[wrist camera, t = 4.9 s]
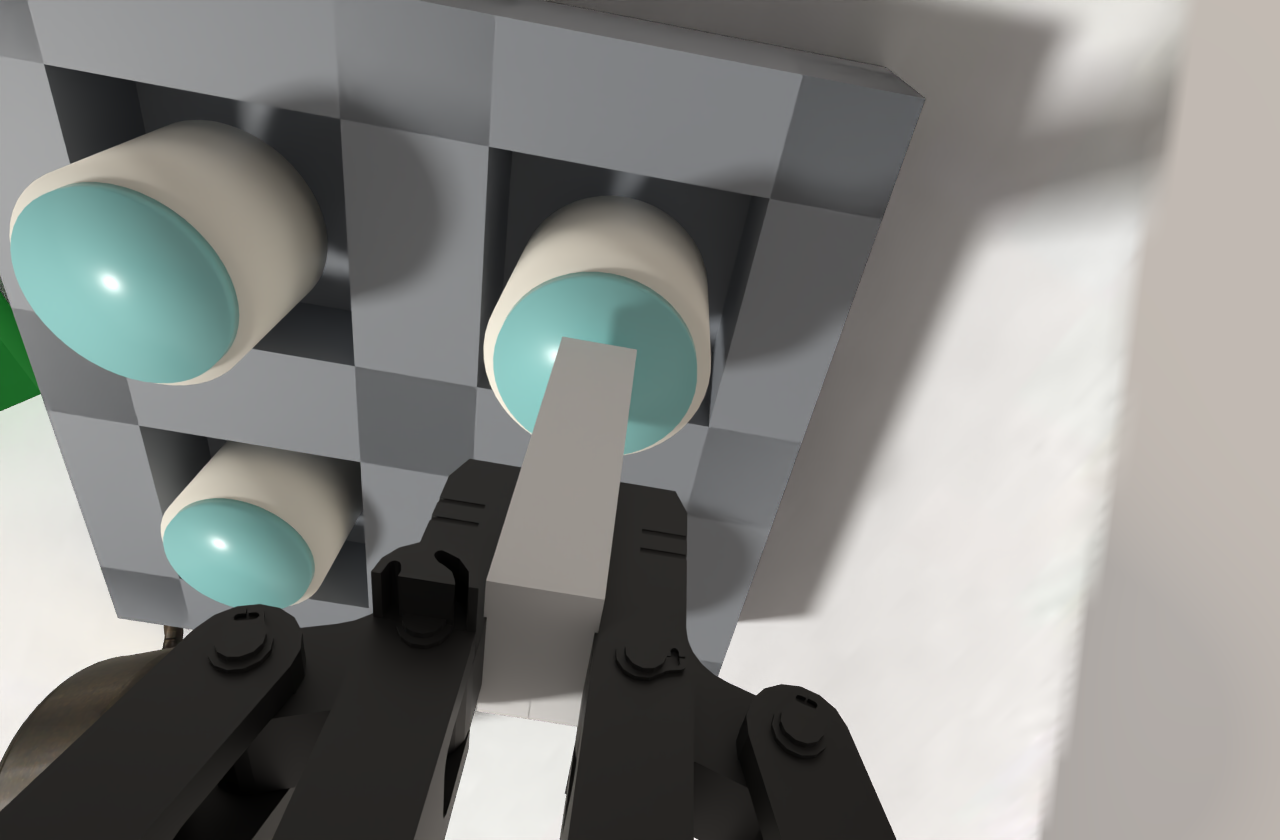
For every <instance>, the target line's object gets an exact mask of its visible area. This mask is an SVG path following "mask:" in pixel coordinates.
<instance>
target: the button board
mask: <svg viewBox="0 0 1280 840" xmlns="http://www.w3.org/2000/svg"><path fill="white" fill-rule="evenodd" d="M924 101H925V98H924V97H923V96H922V95H920V94H919V93H918V92H917V91H915V90H914V89H913V88H911V87H910V86H909V85H908V84H906V83H905V82H904V81H903V80H901V79H900V78H899V77H897V76H896V75H895V74H894V73H892V72H891V71H890V70H889V69H887V68H886V67H882V66H877V65H872V64H867V63H862V62H856V61H851V60H846V59H841V58H836V57H831V56H826V55H821V54H815V53H810V52H805V51H800V50H795V49H790V48H785V47H780V46H774V45H769V44H764V43H759V42H754V41H749V40H744V39H738V38H733V37H728V36H723V35H718V34H713V33H708V32H703V31H697V30H692V29H687V28H682V27H677V26H672V25H667V24H662V23H656V22H651V21H646V20H641V19H636V18H631V17H626V16H621V15H615V14H610V13H605V12H600V11H595V10H590V9H585V8H580V7H574V6H569V5H564V4H559V3H554V2H549V1H544V0H0V276H1V279H2V282H3V285H4V288H5V291H6V294H7V297H8V300H9V302H10V305H11V308H12V311H13V314H14V317H15V320H16V323H17V326H18V329H19V332H20V334H21V337H22V340H23V343H24V346H25V349H26V352H27V355H28V358H29V361H30V363H31V366H32V369H33V372H34V375H35V378H36V381H37V384H38V387H39V390H40V393H41V395H42V398H43V401H44V404H45V407H46V410H47V413H48V416H49V419H50V422H51V425H52V427H53V430H54V433H55V436H56V439H57V442H58V445H59V448H60V451H61V454H62V457H63V459H64V462H65V465H66V468H67V471H68V474H69V477H70V480H71V483H72V486H73V489H74V491H75V494H76V497H77V500H78V503H79V506H80V509H81V512H82V515H83V518H84V520H85V523H86V526H87V529H88V532H89V535H90V538H91V541H92V544H93V547H94V550H95V552H96V555H97V558H98V561H99V564H100V567H101V570H102V573H103V576H104V579H105V582H106V584H107V587H108V590H109V593H110V596H111V599H112V602H113V605H114V608H115V611H116V614H117V616H118V618H121V619H128V620H134V621H141V622H147V623H154V624H160V625H167V626H173V627H180V628H186V629H193V630H194V629H195V628H196V627H197V626H199V625H200V624H202V623H203V622H205V621H206V620H207V619H209V618H210V617H212V616H213V615H215V614H218V613H220V612H223V611H226V610H228V609H231V608H234V607H231V606H228V605H225V604H223V603H220V602H217V601H215V600H213V599H211V598H209V597H207V596H205V595H203V594H202V593H200V592H199V591H197V590H196V589H194V588H193V587H192V586H190V585H189V584H188V583H187V582H185V581H184V580H183V579H182V578H181V577H180V576H179V575H178V573H177V572H176V571H175V570H174V568H173V567H172V566H171V564H170V562H169V560H168V559H167V556H166V554H165V551H164V546H163V541H162V537H161V522H162V517H163V515H164V513H165V511H166V510H167V509H168V507H169V506H170V505H171V504H172V503H173V501H174V500H175V499H176V498H177V497H178V496H179V495H180V494H181V492H182V491H183V490H184V489H185V488H186V487H187V486H188V484H189V483H190V482H191V481H192V480H193V479H194V478H195V477H196V475H197V474H198V473H199V472H200V471H201V470H202V469H203V467H204V466H205V465H206V464H207V463H208V462H209V461H210V460H211V458H212V457H213V456H214V455H215V454H216V453H217V452H218V451H219V449H220V448H221V447H222V446H223V445H224V444H225V443H226V441H227V440H229V441H236V442H242V443H248V444H254V445H260V446H266V447H272V448H278V449H284V450H290V451H296V452H302V453H308V454H314V455H320V456H326V457H332V458H339V459H345V460H351V461H357V462H360V464H361V481H362V498H363V510H362V512H361V513H360V515H359V517H358V519H357V521H356V522H355V524H354V526H353V528H352V530H351V531H350V533H349V535H348V537H347V539H346V540H345V542H344V544H343V546H342V548H341V550H340V551H339V553H338V555H337V557H336V559H335V560H334V562H333V564H332V566H331V568H330V569H329V571H328V573H327V575H326V577H325V578H324V580H323V582H322V584H321V586H320V587H319V589H318V590H317V591H316V592H315V593H314V594H313V595H312V596H311V597H310V598H308V599H307V600H305V601H303V602H301V603H298V604H295V605H292V606H288V607H285V608H282V609H283V610H284V611H286V612H287V613H289V614H290V615H292V616H293V617H295V619H296V621H297V623H298V625H299V627H300V628H303V627H312V626H321V625H330V624H338V623H343V622H348V621H353V620H357V619H359V618H362V617H365V616H367V615H370V614H372V613H373V604H372V585H371V571H372V569H373V568H374V567H375V566H376V564H377V563H378V562H379V561H380V559H381V558H382V557H384V556H385V555H387V554H389V553H390V552H392V551H394V550H395V549H397V548H399V547H402V546H406V545H410V544H414V543H418V542H420V541H421V539H422V536H423V534H424V532H425V529H426V527H427V525H428V523H429V520H431V517H432V513H433V511H434V509H435V507H436V504H437V502H439V498H440V495H441V493H442V491H443V488H444V486H445V484H446V481H447V479H448V477H449V475H450V474H452V473H453V472H454V471H455V470H456V469H458V468H459V467H460V466H461V465H463V464H464V463H465V462H466V461H467V460H469V459H475V460H481V461H487V462H493V463H499V464H505V465H511V466H517V467H522V464H523V461H524V458H525V455H526V451H527V448H528V445H529V442H530V438H531V434H530V433H529V432H527V431H526V430H525V429H523V428H522V427H521V426H520V425H519V424H518V423H517V422H516V421H514V420H513V419H512V418H511V417H510V415H509V414H508V413H507V412H506V411H505V409H504V408H503V407H502V405H501V404H500V402H499V401H498V399H497V398H496V396H495V394H494V392H493V390H492V388H491V385H490V383H489V380H488V377H487V373H486V369H485V363H484V339H485V332H486V329H487V325H488V322H489V319H490V317H491V315H492V313H493V311H494V309H495V307H496V305H497V303H498V301H499V299H500V297H501V295H502V293H503V291H504V289H505V287H506V285H507V283H508V281H509V279H510V277H511V275H512V273H513V271H514V269H515V267H516V265H517V263H518V261H519V259H520V257H521V255H522V253H523V251H524V249H525V247H526V245H527V243H528V241H529V239H530V238H531V236H532V235H533V233H534V232H535V230H536V229H537V228H538V227H539V226H540V224H541V223H542V222H543V221H544V220H545V219H547V218H548V217H549V216H550V215H551V214H553V213H554V212H556V211H557V210H559V209H561V208H562V207H564V206H566V205H568V204H571V203H573V202H575V201H578V200H582V199H585V198H590V197H597V196H621V197H628V198H632V199H636V200H640V201H643V202H645V203H648V204H650V205H653V206H655V207H656V208H658V209H660V210H662V211H664V212H665V213H667V214H668V215H669V216H671V217H672V218H673V219H675V220H676V221H677V222H678V223H679V224H680V225H681V226H682V227H683V228H684V229H685V230H686V232H687V233H688V234H689V235H690V237H691V238H692V239H693V241H694V243H695V244H696V246H697V248H698V249H699V252H700V254H701V256H702V259H703V262H704V265H705V269H706V274H707V282H708V303H709V326H710V350H711V373H710V378H709V384H708V387H707V390H706V393H705V396H704V399H703V400H702V402H701V404H700V406H699V408H698V410H697V411H696V413H695V414H694V415H693V417H692V418H691V419H690V420H689V421H688V423H687V424H686V425H685V426H684V427H683V428H682V429H681V430H679V431H678V432H677V433H676V434H674V435H673V436H672V437H670V438H669V439H667V440H665V441H664V442H662V443H660V444H658V445H656V446H654V447H652V448H649V449H646V450H643V451H640V452H637V453H633V454H628V455H623V462H622V470H621V478H620V482H624V483H630V484H636V485H642V486H648V487H654V488H660V489H666V490H672V491H676V493H677V495H678V497H679V499H680V500H681V502H682V504H683V506H684V508H685V510H686V512H687V540H686V541H687V557H686V560H687V610H686V629H687V637H688V641H689V644H690V646H691V648H692V651H693V653H694V654H695V655H696V657H697V658H698V659H699V661H700V662H701V663H702V665H704V666H705V667H706V668H707V669H708V670H709V671H710V672H712V673H713V674H714V675H716V676H717V677H718V675H719V672H720V669H721V666H722V663H723V661H724V658H725V655H726V652H727V650H728V647H729V644H730V641H731V638H732V636H733V633H734V630H735V627H736V625H737V622H738V619H739V616H740V613H741V611H742V608H743V605H744V602H745V599H746V597H747V594H748V591H749V588H750V586H751V583H752V580H753V577H754V574H755V572H756V569H757V566H758V563H759V561H760V558H761V555H762V552H763V549H764V547H765V544H766V541H767V538H768V535H769V533H770V530H771V527H772V524H773V522H774V519H775V516H776V513H777V510H778V508H779V505H780V502H781V499H782V497H783V494H784V491H785V488H786V485H787V483H788V480H789V477H790V474H791V471H792V469H793V466H794V463H795V460H796V458H797V455H798V452H799V449H800V446H801V444H802V441H803V438H804V435H805V433H806V430H807V427H808V424H809V421H810V419H811V416H812V413H813V410H814V407H815V405H816V402H817V399H818V396H819V394H820V391H821V388H822V385H823V382H824V380H825V377H826V374H827V371H828V369H829V366H830V363H831V360H832V357H833V355H834V352H835V349H836V346H837V343H838V341H839V338H840V335H841V332H842V330H843V327H844V324H845V321H846V318H847V316H848V313H849V310H850V307H851V305H852V302H853V299H854V296H855V293H856V291H857V288H858V285H859V282H860V279H861V277H862V274H863V271H864V268H865V266H866V263H867V260H868V257H869V254H870V252H871V249H872V246H873V243H874V241H875V238H876V235H877V232H878V229H879V227H880V224H881V221H882V218H883V215H884V213H885V210H886V207H887V204H888V202H889V199H890V196H891V193H892V190H893V188H894V185H895V182H896V179H897V177H898V174H899V171H900V168H901V165H902V163H903V160H904V157H905V154H906V151H907V149H908V146H909V143H910V140H911V138H912V135H913V132H914V129H915V126H916V124H917V121H918V118H919V115H920V113H921V110H922V107H923V104H924ZM186 120H207V121H215V122H219V123H223V124H227V125H231V126H233V127H236V128H239V129H241V130H244V131H246V132H248V133H250V134H252V135H254V136H256V137H257V138H259V139H260V140H262V141H263V142H265V143H267V144H268V145H270V146H271V147H272V148H273V149H275V150H276V151H277V152H278V153H280V154H281V155H282V156H283V157H284V158H285V159H286V160H287V161H288V162H289V163H290V164H291V165H292V166H293V167H294V168H295V169H296V170H297V172H298V173H299V174H300V175H301V176H302V178H303V179H304V181H305V182H306V183H307V185H308V186H309V188H310V189H311V191H312V193H313V195H314V197H315V199H316V200H317V202H318V205H319V207H320V210H321V212H322V215H323V219H324V222H325V226H326V232H327V239H328V251H327V258H326V264H325V267H324V270H323V273H322V275H321V277H320V279H319V281H318V282H317V283H316V285H315V286H314V288H313V289H312V290H311V291H310V292H309V293H308V294H307V295H306V296H305V297H304V298H303V299H302V300H301V301H300V302H299V303H298V304H297V305H296V306H295V307H294V308H293V309H292V310H291V311H290V312H289V313H288V314H287V315H286V316H285V317H283V318H282V319H281V320H280V321H279V322H278V323H277V324H276V325H275V326H274V327H273V328H272V329H271V330H270V331H269V332H268V333H267V334H266V335H265V336H264V337H263V338H262V339H261V340H260V341H259V342H258V343H257V344H256V345H255V346H254V347H253V348H252V349H251V350H250V351H249V352H248V353H247V354H246V355H245V356H244V357H243V358H242V359H241V360H240V361H239V362H238V363H237V364H236V365H235V366H234V367H233V368H231V369H230V370H229V371H228V372H226V373H224V374H223V375H221V376H220V377H217V378H215V379H213V380H210V381H207V382H203V383H199V384H192V385H165V384H157V383H151V382H143V381H139V380H134V379H130V378H127V377H124V376H121V375H118V374H115V373H113V372H111V371H108V370H106V369H104V368H102V367H100V366H98V365H96V364H94V363H92V362H91V361H89V360H87V359H86V358H84V357H83V356H81V355H79V354H78V353H77V352H75V351H74V350H73V349H71V348H70V347H69V346H67V345H66V344H65V343H64V342H63V341H61V340H60V339H59V338H58V337H57V336H56V335H55V334H54V333H53V332H52V331H51V330H50V329H49V328H48V327H47V326H46V325H45V324H44V323H43V321H42V320H41V319H40V318H39V317H38V315H37V314H36V313H35V311H34V310H33V308H32V307H31V305H30V304H29V302H28V301H27V299H26V297H25V296H24V294H23V292H22V290H21V288H20V286H19V283H18V281H17V278H16V276H15V272H14V269H13V265H12V260H11V251H10V237H9V235H10V221H11V216H12V212H13V209H14V207H15V205H16V202H17V200H18V198H19V197H20V195H21V194H22V193H23V191H24V190H25V189H26V188H27V187H28V186H29V185H30V184H31V183H32V182H34V181H35V180H36V179H38V178H40V177H42V176H43V175H45V174H47V173H49V172H52V171H54V170H57V169H59V168H62V167H64V166H67V165H69V164H72V163H74V162H77V161H79V160H82V159H84V158H87V157H89V156H92V155H94V154H97V153H99V152H102V151H104V150H107V149H109V148H112V147H114V146H117V145H119V144H122V143H124V142H127V141H129V140H132V139H134V138H137V137H139V136H142V135H144V134H147V133H149V132H152V131H154V130H157V129H159V128H162V127H164V126H167V125H170V124H173V123H175V122H181V121H186Z"/></svg>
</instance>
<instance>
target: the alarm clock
mask: <svg viewBox="0 0 1280 840" xmlns="http://www.w3.org/2000/svg"><path fill="white" fill-rule="evenodd" d="M164 634H165V639H164V643H163V648H162V650H157V651H152V652H146V653H140V654H135V655H129V656H120V657H115V658H111V659H107V660H104V661H101V662H98V663H95V664H93V665H91V666H89V667H87V668H85V669H83V670H81V671H79V672H78V673H76V674H74V675H73V676H71V677H70V678H68V679H67V680H66V681H64V682H63V683H62V684H60V685H59V686H58V687H57V688H56V689H54V690H53V691H52V692H51V693H50V694H49V695H48V696H47V697H46V698H45V699H44V700H43V701H42V702H41V703H40V704H39V705H38V706H37V707H36V708H35V709H34V711H33V712H32V713H31V714H30V715H29V717H28V718H27V719H26V721H25V722H24V723H23V724H22V726H21V727H20V729H19V730H18V732H17V733H16V735H15V736H14V738H13V739H12V741H11V743H10V745H9V747H8V748H7V750H6V752H5V754H4V756H3V758H2V760H1V762H0V811H1V810H2V809H3V808H4V807H5V806H6V805H7V804H9V803H10V802H11V801H12V800H13V799H14V798H15V797H16V796H17V795H18V794H19V793H20V792H21V791H22V790H23V789H24V788H26V787H27V786H28V785H29V784H30V783H31V782H32V781H33V780H34V779H35V778H36V777H37V776H38V775H39V774H40V773H42V772H43V771H44V770H45V769H46V768H47V767H48V766H49V765H50V764H51V763H52V762H53V761H54V760H55V759H56V758H57V757H59V756H60V755H61V754H62V753H63V752H64V751H65V750H66V749H67V748H68V747H69V746H70V745H71V744H72V743H73V742H74V741H76V740H77V739H78V738H79V737H80V736H81V735H82V734H83V733H84V732H85V731H86V730H87V729H88V728H89V727H90V726H92V725H93V724H94V723H95V722H96V721H97V720H98V719H99V718H100V717H101V716H102V715H103V714H104V713H105V712H106V711H107V710H109V709H110V708H111V707H112V706H113V705H114V704H115V703H116V702H117V701H118V700H119V699H120V698H121V697H122V696H123V695H124V694H126V693H127V692H128V691H129V690H130V689H131V688H132V687H133V686H134V685H135V684H136V683H137V682H138V681H139V680H140V679H142V678H143V677H144V676H145V675H146V674H147V673H148V672H149V671H150V670H151V669H152V668H153V667H154V666H155V665H156V664H157V663H159V662H160V661H161V660H162V659H163V658H164V657H165V656H166V655H167V654H168V653H169V652H170V651H171V650H172V649H173V648H174V647H176V646H177V645H178V644H179V643H180V642H181V641H182V640H183V628H180V627H173V626H167V625H164ZM272 838H273V837H272ZM271 840H272V839H271Z"/></svg>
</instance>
